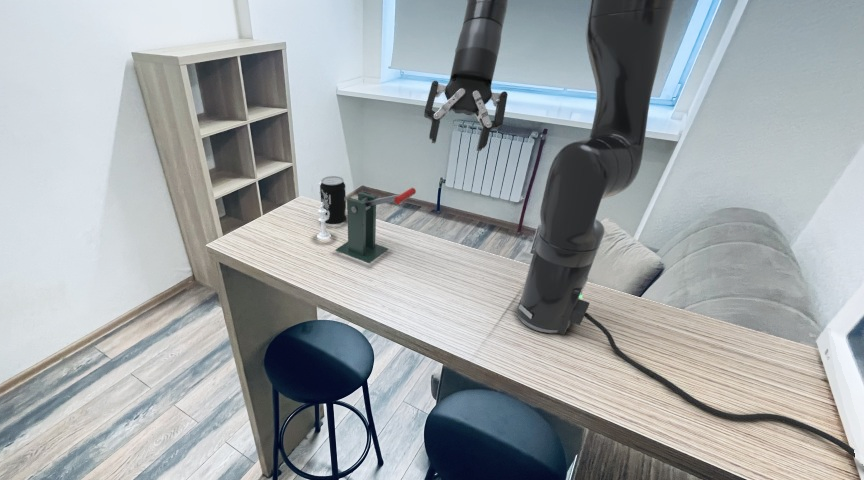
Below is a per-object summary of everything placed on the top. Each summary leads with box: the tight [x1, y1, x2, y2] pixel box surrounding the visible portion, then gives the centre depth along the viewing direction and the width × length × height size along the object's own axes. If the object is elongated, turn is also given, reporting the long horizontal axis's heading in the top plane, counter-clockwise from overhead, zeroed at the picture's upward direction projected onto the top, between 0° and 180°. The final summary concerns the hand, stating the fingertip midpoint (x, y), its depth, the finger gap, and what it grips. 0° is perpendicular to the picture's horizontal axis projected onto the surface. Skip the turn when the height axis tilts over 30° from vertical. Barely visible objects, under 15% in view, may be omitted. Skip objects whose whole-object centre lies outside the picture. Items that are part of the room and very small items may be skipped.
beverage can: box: [319, 175, 347, 225], centre depth 108 cm, size 7×7×12 cm
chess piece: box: [316, 201, 332, 240], centre depth 101 cm, size 5×5×10 cm
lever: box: [357, 187, 417, 210], centre depth 87 cm, size 14×6×2 cm, turn 52°
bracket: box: [334, 191, 389, 264], centre depth 94 cm, size 10×8×14 cm
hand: (456, 146), depth 76 cm, fingers open, 8 cm apart
